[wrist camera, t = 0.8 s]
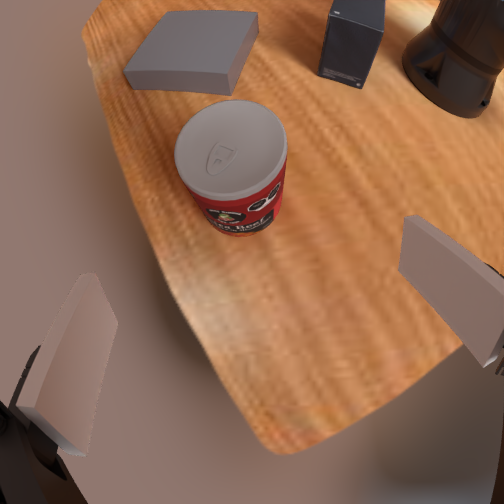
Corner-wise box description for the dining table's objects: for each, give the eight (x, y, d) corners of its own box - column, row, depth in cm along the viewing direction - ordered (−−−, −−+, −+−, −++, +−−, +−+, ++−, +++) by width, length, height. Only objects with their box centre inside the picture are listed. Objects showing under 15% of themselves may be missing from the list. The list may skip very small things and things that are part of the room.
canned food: (196, 232, 29) (158, 189, 18) (215, 160, 31) (192, 95, 20) (273, 246, 29) (277, 206, 18) (287, 171, 30) (294, 104, 19)
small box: (364, 92, 32) (386, 32, 22) (315, 77, 33) (325, 14, 22) (371, 48, 34) (387, -4, 23) (329, 35, 34) (338, -19, 24)
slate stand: (258, 32, 35) (257, 12, 31) (231, 95, 32) (227, 73, 28) (172, 29, 36) (167, 11, 32) (133, 89, 34) (122, 71, 30)
